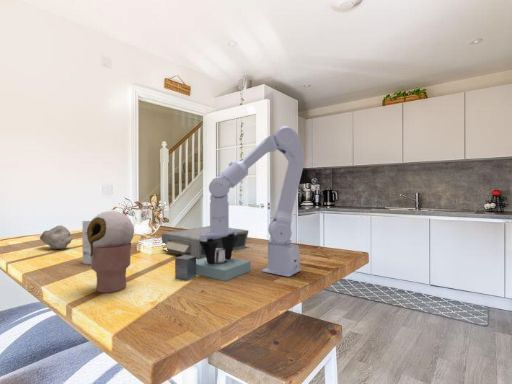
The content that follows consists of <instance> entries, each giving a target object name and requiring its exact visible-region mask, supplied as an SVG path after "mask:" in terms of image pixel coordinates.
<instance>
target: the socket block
mask: <svg viewBox="0 0 512 384" xmlns="http://www.w3.org/2000/svg"><path fill="white" fill-rule="evenodd" d="M251 262H252V261H250V260H246V259H245V260H244V259H239V258H234V257H231V259H225V263H224V264H213V265H211V264H208V263H207V259H206V258H202V259H196V276H197V275H198V276H202V277H206V278H211V279H214V280H218V281H223V282H227V281H230V280H231V279H234V278H237V277H240V276H242V275H245V274H246V273H249V272H251V270H252V269H251V268H252V267H251V266H252V265H251V264H252V263H251Z"/></svg>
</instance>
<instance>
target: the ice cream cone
mask: <svg viewBox="0 0 512 384" xmlns="http://www.w3.org/2000/svg"><path fill="white" fill-rule="evenodd" d="M89 221H90V223H89V225H88V227H87V232H86V234H87V239H88V242H89V243H90V246H91V247H90V250H91V254H90V257H91V264H90V265H91V270H92V271H94V272H95V273H96V286H95V287H96V291H97V292H98V293H104V294H105V293H113V292H118V291H119V292H120V291H121V290H124V289H125V288H126V287H127V277H126V276H127V274H126V273H127V268H129V266H131V248H132V240H133V238H134V233H135V229H134V224H133V221H132V220H131V218H129V217H128V215H126V214H124V213H123V212H120V211H116V210H110V211H107V210H106V211H103V212H100V213H98V214H97V215H96V216H94V217H93V218H92V219H91V220H89Z"/></svg>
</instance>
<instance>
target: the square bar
mask: <svg viewBox="0 0 512 384" xmlns="http://www.w3.org/2000/svg"><path fill="white" fill-rule="evenodd" d="M196 260H197V259H196V256H189V255H181V256H180V255H179V256H177V257H174V279H175V280H179V281H186V282H187V281H190V280H192V279H194V278H196V277H197V274H196Z"/></svg>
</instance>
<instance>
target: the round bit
mask: <svg viewBox="0 0 512 384" xmlns="http://www.w3.org/2000/svg"><path fill="white" fill-rule="evenodd" d="M224 263H225V249H224V248H216V251H215V262H214V264H224Z"/></svg>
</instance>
